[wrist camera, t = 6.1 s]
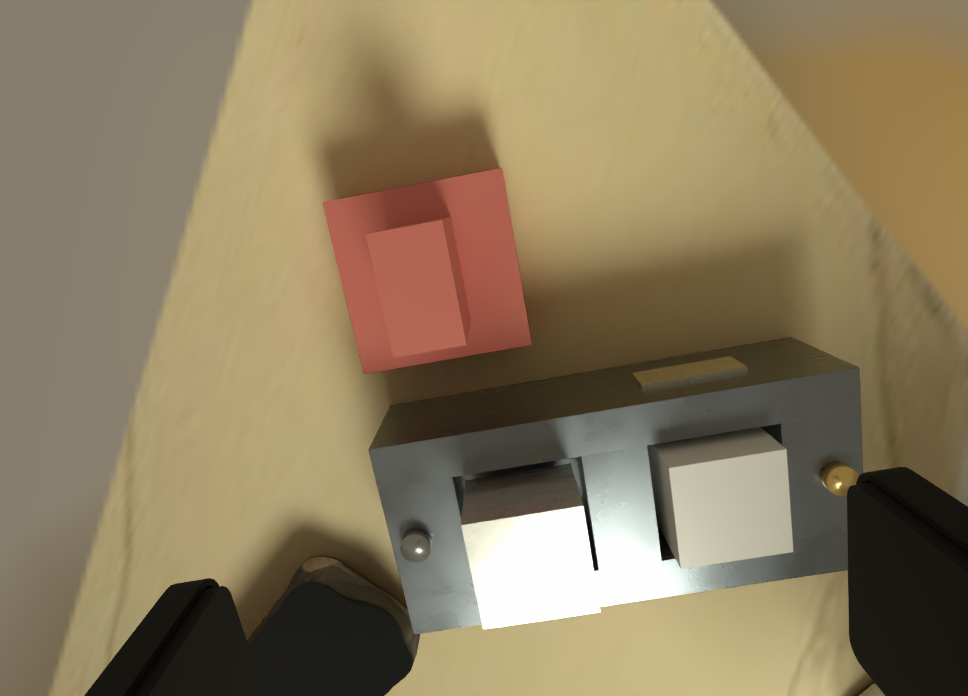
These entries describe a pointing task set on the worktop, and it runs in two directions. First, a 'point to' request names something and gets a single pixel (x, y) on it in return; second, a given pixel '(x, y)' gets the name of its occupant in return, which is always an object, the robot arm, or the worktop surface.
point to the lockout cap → (430, 271)
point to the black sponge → (333, 636)
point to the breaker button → (722, 497)
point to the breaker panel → (602, 482)
